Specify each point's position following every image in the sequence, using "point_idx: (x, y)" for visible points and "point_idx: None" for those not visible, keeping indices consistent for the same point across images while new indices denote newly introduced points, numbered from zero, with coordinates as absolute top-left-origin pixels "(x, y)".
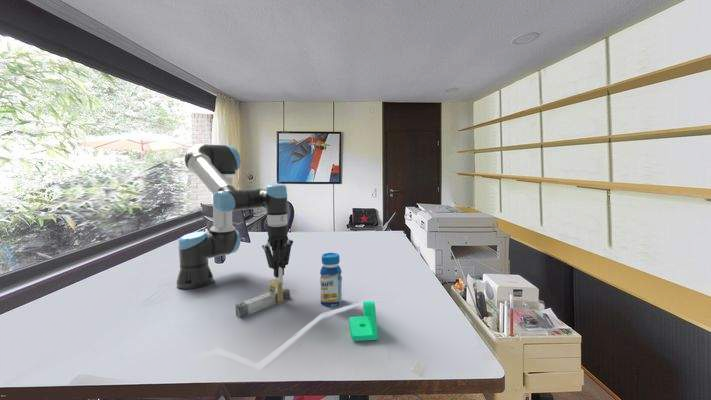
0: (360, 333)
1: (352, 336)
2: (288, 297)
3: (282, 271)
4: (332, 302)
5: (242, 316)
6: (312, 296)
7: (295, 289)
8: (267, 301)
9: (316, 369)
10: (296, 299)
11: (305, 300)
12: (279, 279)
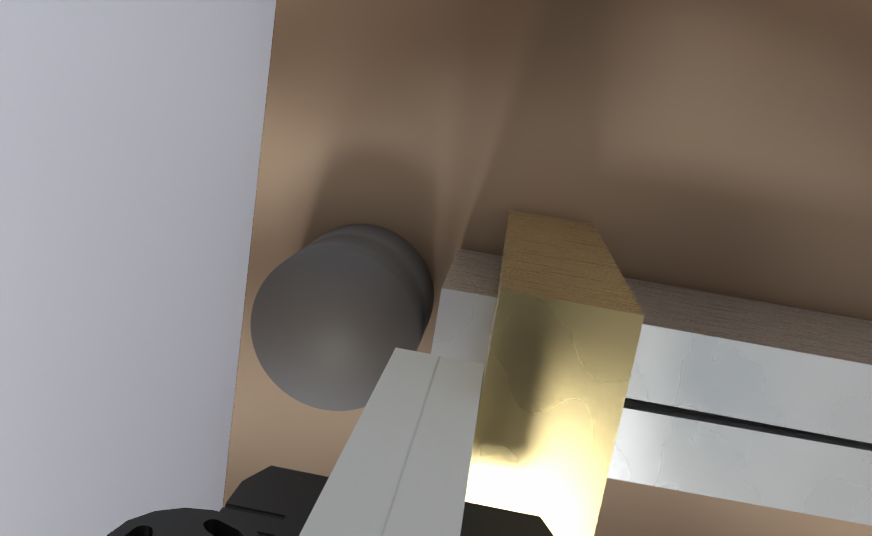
0: None
1: None
2: (356, 229)
3: (314, 510)
4: None
5: None
6: (24, 29)
7: (3, 431)
8: (779, 326)
9: None
10: (240, 177)
11: (189, 26)
12: (473, 428)
